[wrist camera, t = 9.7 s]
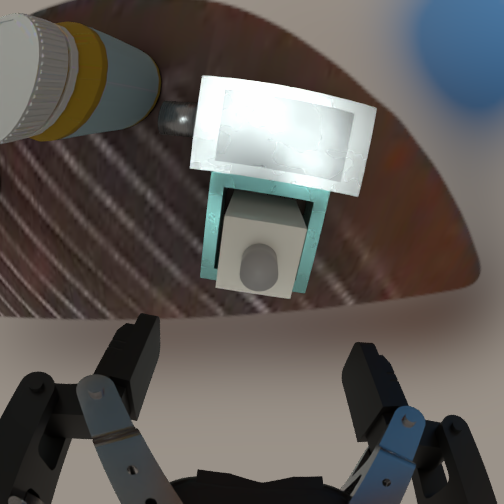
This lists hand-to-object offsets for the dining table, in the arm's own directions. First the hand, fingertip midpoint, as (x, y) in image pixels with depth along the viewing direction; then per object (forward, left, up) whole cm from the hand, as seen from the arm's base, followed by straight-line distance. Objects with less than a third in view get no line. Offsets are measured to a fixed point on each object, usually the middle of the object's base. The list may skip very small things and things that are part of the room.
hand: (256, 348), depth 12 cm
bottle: (-13, +10, -15) cm, 23 cm away
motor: (-1, +3, -15) cm, 16 cm away
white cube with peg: (0, 0, -15) cm, 15 cm away
